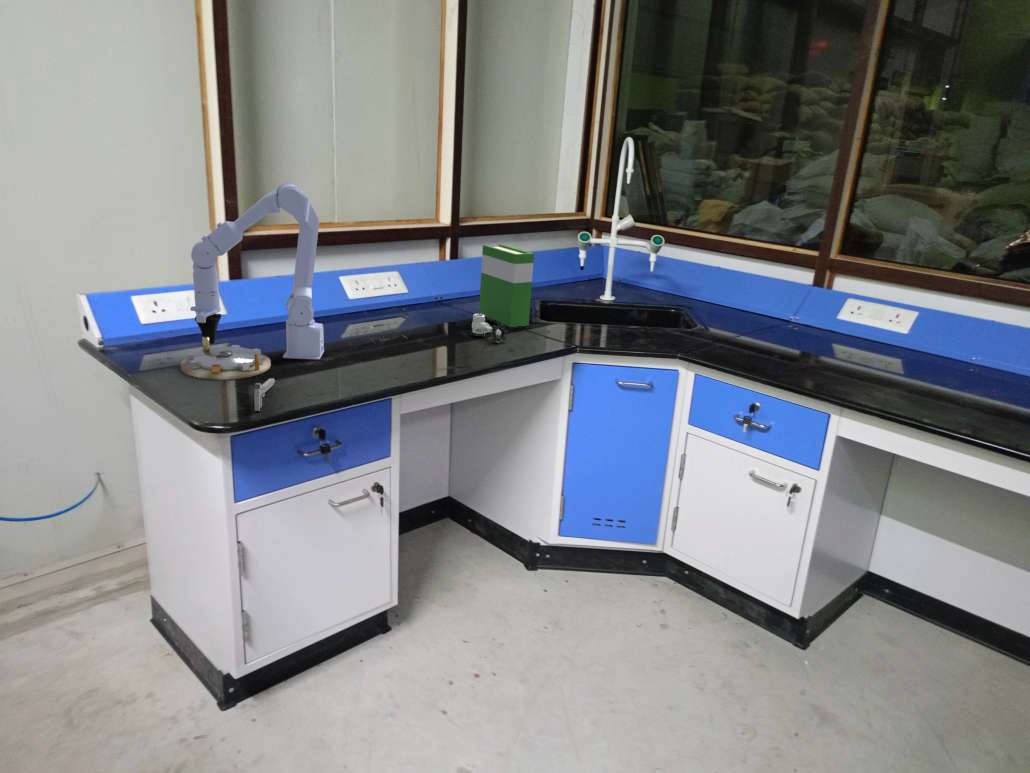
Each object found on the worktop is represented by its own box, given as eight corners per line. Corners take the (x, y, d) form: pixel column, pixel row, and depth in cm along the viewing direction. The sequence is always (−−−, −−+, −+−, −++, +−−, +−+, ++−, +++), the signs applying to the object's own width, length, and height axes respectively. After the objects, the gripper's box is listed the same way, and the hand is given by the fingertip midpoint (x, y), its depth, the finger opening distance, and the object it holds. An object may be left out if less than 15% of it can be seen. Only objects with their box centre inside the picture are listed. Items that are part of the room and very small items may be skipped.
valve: (465, 335, 233) (490, 345, 225) (466, 314, 231) (492, 323, 223) (481, 332, 237) (507, 342, 229) (483, 312, 235) (509, 321, 227)
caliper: (260, 413, 164) (258, 386, 162) (254, 413, 163) (253, 386, 161) (275, 382, 183) (274, 357, 181) (270, 382, 182) (269, 357, 180)
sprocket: (271, 352, 199) (271, 333, 198) (254, 374, 182) (254, 353, 181) (200, 349, 198) (198, 329, 196) (176, 371, 181) (174, 350, 179)
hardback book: (478, 316, 256) (482, 245, 248) (496, 314, 260) (501, 244, 253) (510, 329, 243) (515, 254, 235) (528, 327, 247) (534, 253, 240)
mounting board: (278, 355, 201) (278, 337, 200) (259, 381, 181) (258, 361, 180) (196, 351, 199) (195, 333, 198) (168, 377, 179) (166, 357, 178)
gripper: (197, 283, 196) (200, 334, 201) (181, 296, 183) (185, 350, 187) (226, 285, 197) (228, 335, 202) (212, 297, 184) (215, 351, 188)
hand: (209, 343), depth 194 cm, fingers closed
